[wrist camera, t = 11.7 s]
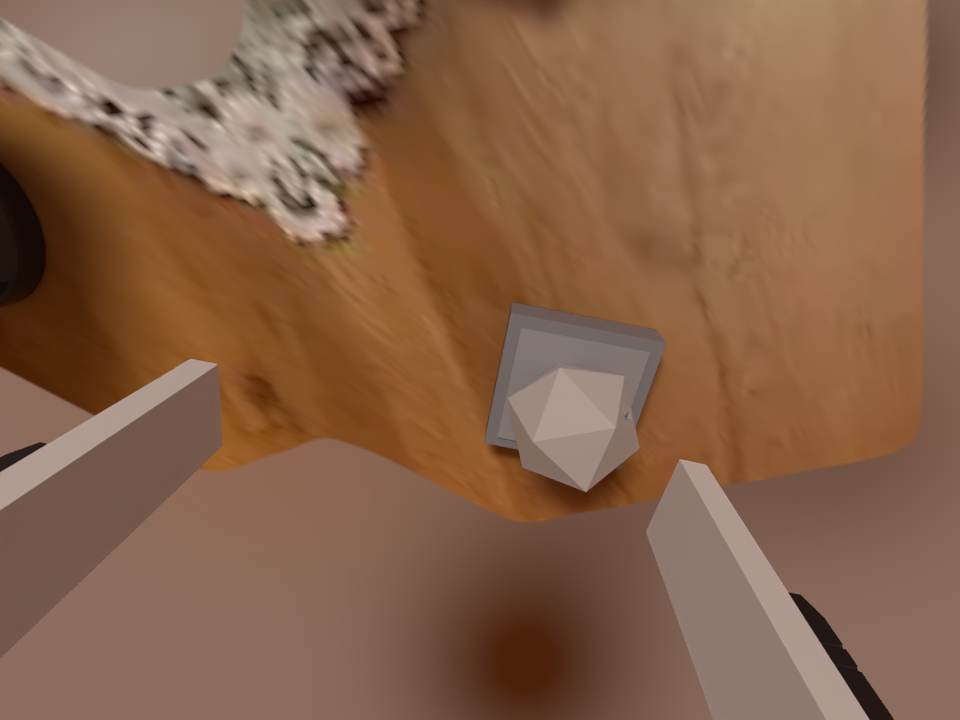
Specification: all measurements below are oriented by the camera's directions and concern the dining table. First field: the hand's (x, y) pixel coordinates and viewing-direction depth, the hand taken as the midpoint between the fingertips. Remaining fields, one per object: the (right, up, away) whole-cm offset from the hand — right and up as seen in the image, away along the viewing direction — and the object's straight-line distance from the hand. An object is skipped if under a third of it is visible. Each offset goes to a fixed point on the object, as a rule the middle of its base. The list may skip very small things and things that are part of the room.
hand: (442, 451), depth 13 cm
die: (+8, 0, +24) cm, 25 cm away
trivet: (+9, +1, +26) cm, 28 cm away
